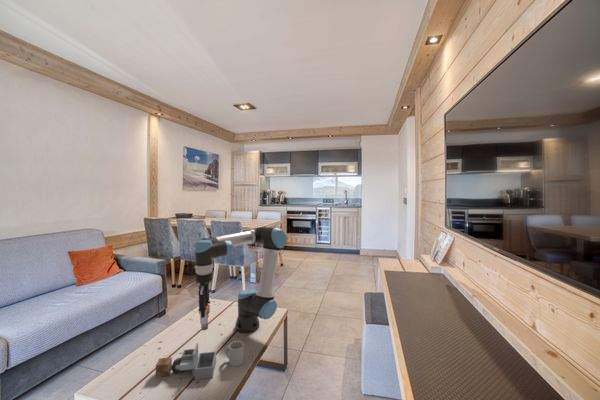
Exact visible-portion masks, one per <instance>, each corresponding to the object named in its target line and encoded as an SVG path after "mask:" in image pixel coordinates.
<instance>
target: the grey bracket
mask: <svg viewBox="0 0 600 400" xmlns="http://www.w3.org/2000/svg"><path fill="white" fill-rule="evenodd" d="M198 357H199V343H198V342H196V344H195V347H194V348H189V349H183V352H182V354H181V357H178V358H176V359H174V361H173V362H172V367H171V368H172V370H171V372H173V373H175V374H181V373H182V372H184V371H187V370H188V371H189V370H192V371H191V372H192V376H193V377H195V366H196V363H197V360H198Z"/></svg>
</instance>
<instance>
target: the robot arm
mask: <svg viewBox="0 0 600 400" xmlns="http://www.w3.org/2000/svg"><path fill="white" fill-rule="evenodd" d="M246 244H247V245H248V244H249V245H255V244H256V245H262V249H263V251H264V253H263V260H262V264H261V265H262V266H261V273H260V278H259V279H260V280H259V285H258V290H257V289H255V288H249V289H244V290H241V291H240V292H238V295H237V296H238V297H237V318H236V321H235V327H234V328H235V330H236V331H237V332H239V333H242V334H246V333H247V334H248V333H253V332H255V331H257V330H258V329H259V328H260V320H259V318H260V319H262V320H269V319H271V318H272V317H273V316H274V315H275V313H276V311H277V309H278V308H277V307H278V303H277V302H276V300H275V294H274V293H273V290H274V284H275V276H276V270H277V264H278V257H279V253H280V252H281V251H282V249H283V248H284V247H285V245H286V244H287V234H286V233H285V231H284V230H283V229H281V228H277V227H269V226H259V227H254V228H250V229H247V230H246V231H241V232H235V233H229V234H225V235H220V236H219V235H218V236H213V237H200V238H198V239H197V240H196V242H195V246H194V252H195V253H194V256H195V257H194V259H195V261H194V263H195V266H194V267H193V268H194V269H195V282H196V284H197V283H198V284H199V285H198V311H197V312H199V311H200V314H199V317H200V318H199V320H200V321H199V324H200V325H201V324H205V323H207V316H206V304H208V305H210V304H211V301H210V282H211V281H213V259H216V258H220V257H226V256H228V255H231V254H232V253H233V251H234V247H238V246H242V245H246ZM209 313H210V312H209ZM209 313H208V318H209V317H210V316H209Z"/></svg>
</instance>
